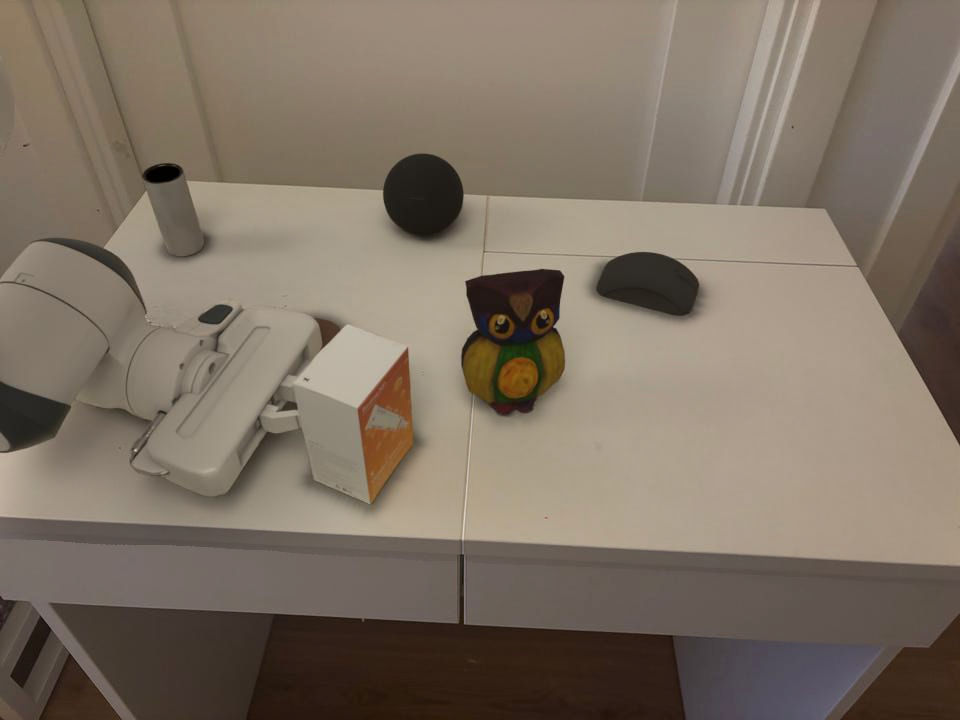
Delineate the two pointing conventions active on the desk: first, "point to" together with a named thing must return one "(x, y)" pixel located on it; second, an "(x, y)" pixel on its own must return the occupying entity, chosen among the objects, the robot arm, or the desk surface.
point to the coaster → (327, 331)
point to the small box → (356, 411)
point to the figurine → (514, 338)
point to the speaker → (423, 194)
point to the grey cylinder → (173, 208)
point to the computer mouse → (650, 282)
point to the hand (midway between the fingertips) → (323, 413)
